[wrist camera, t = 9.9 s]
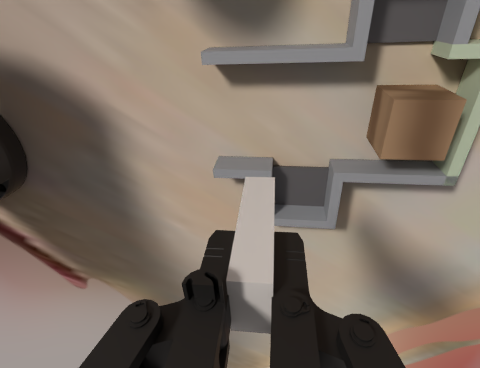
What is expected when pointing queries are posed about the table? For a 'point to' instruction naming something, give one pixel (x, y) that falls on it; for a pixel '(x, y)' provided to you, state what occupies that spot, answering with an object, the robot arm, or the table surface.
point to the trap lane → (358, 35)
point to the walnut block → (414, 121)
